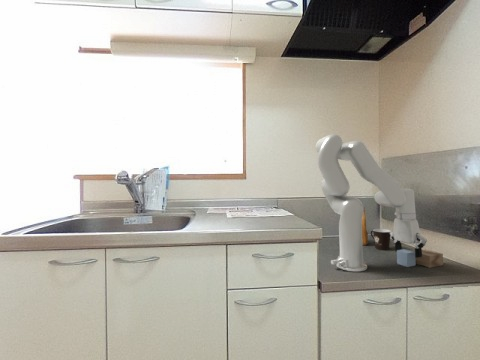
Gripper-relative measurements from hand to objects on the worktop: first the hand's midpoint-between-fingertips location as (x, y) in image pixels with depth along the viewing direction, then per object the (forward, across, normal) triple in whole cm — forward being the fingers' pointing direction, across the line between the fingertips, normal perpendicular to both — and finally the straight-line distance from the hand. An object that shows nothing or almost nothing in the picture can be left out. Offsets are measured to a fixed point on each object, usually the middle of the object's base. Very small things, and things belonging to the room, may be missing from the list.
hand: (408, 254), depth 117 cm
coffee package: (+5, -37, +5) cm, 38 cm away
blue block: (+5, 0, -1) cm, 5 cm away
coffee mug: (+5, -24, +10) cm, 27 cm away
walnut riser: (+5, +3, +8) cm, 10 cm away
